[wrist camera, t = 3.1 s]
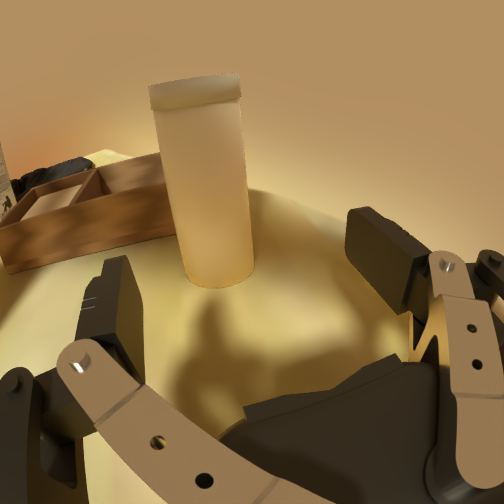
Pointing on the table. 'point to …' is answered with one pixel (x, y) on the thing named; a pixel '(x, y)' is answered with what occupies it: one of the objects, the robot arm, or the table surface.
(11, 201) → the coffee box
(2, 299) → the table surface
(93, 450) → the table surface
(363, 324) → the table surface
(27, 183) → the dark slate chunk
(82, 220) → the caddy
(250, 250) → the sugar shaker
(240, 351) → the table surface
